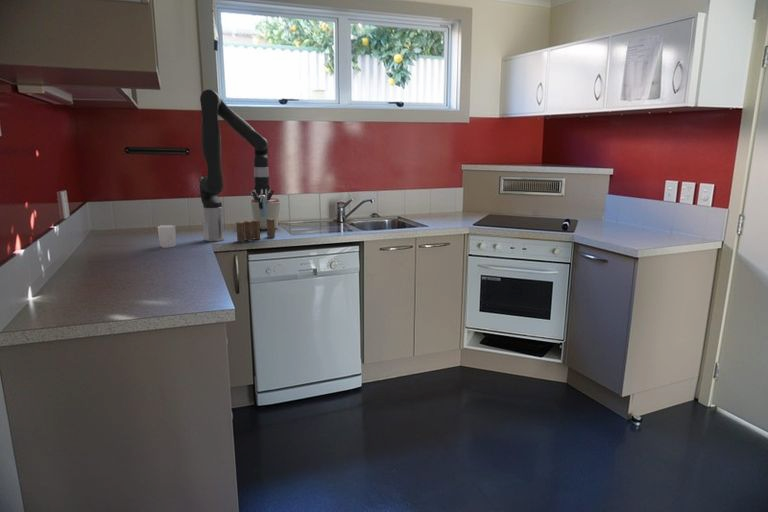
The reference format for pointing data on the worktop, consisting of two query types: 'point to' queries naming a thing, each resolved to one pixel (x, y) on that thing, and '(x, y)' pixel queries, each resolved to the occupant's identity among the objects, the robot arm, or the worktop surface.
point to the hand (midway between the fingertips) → (262, 209)
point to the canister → (271, 211)
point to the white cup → (166, 236)
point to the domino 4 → (263, 211)
